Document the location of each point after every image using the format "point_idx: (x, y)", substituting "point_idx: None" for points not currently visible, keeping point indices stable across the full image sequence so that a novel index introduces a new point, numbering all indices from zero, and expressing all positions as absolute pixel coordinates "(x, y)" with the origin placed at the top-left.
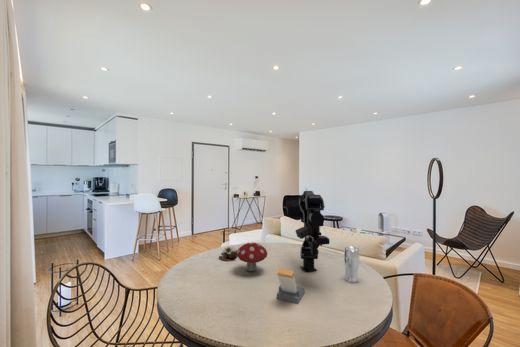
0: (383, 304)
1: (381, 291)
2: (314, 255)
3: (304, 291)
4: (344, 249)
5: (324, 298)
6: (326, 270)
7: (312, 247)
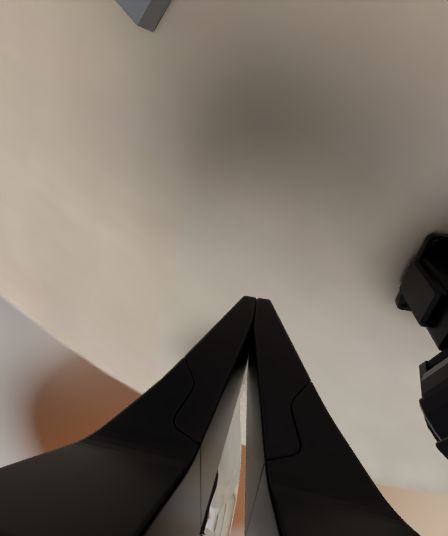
0: (37, 314)
1: (117, 369)
2: (430, 371)
3: (145, 26)
4: (207, 525)
5: (75, 130)
6: (364, 346)
7: (168, 372)
